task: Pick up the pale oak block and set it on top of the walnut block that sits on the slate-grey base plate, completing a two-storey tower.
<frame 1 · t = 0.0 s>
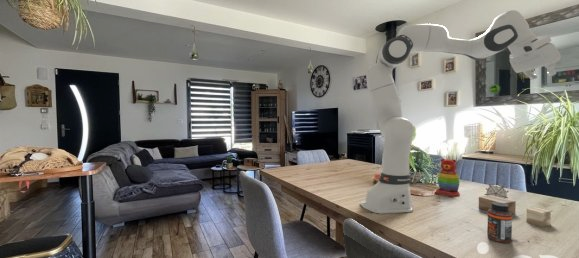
hand: (543, 77, 104), 54 cm above the table, tool tilted 30°, fingers open, 8 cm apart
supplement bottle: (499, 240, 82), on the table
stacking bear: (448, 194, 132), on the table
oak block: (538, 226, 91), on the table
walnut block: (496, 211, 103), point 1 cm above the table, touching base plate
base plate: (496, 214, 103), on the table
game die: (496, 202, 119), on the table
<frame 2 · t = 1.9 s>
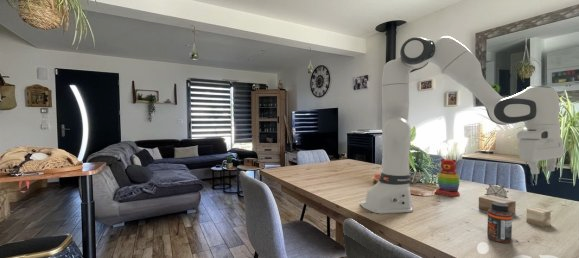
hand: (542, 172, 91), 19 cm above the table, tool pointing down, fingers open, 8 cm apart
nothing on the table moved.
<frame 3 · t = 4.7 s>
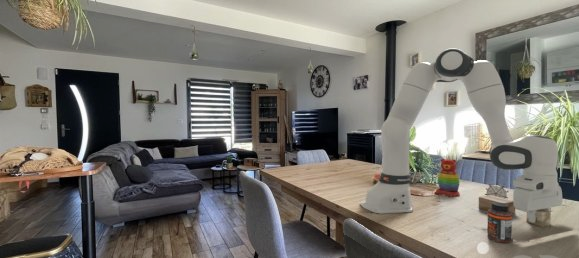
hand: (538, 220, 91), 2 cm above the table, tool pointing down, fingers closed on oak block, 4 cm apart
oak block: (538, 226, 91), on the table, touching gripper
everything else where it was.
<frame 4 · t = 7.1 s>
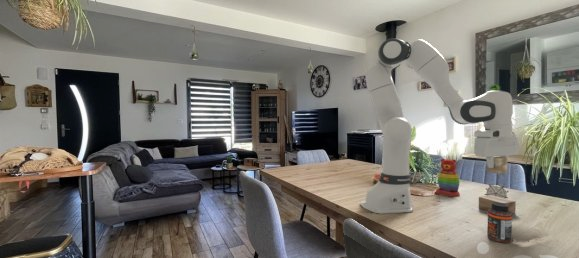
hand: (496, 167, 102), 19 cm above the table, tool pointing down, fingers closed on oak block, 4 cm apart
oak block: (496, 172, 102), point 17 cm above the table, touching gripper
everything else where it was.
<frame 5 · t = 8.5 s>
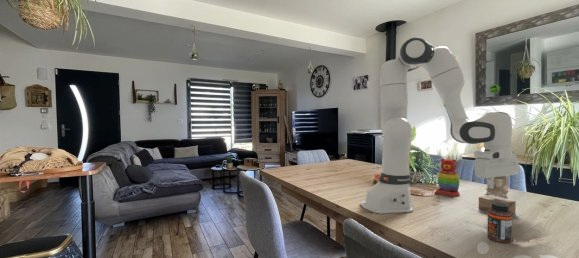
hand: (497, 187, 103), 11 cm above the table, tool pointing down, fingers closed on oak block, 4 cm apart
oak block: (497, 192, 103), point 9 cm above the table, touching gripper
everything else where it was.
when the fingers open (9 cm above the table, at t = 9.6 s): oak block drops 1 cm, resting on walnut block.
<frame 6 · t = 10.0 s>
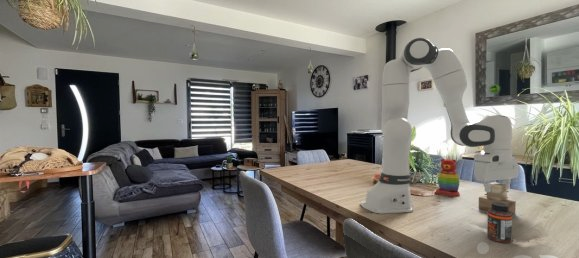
hand: (496, 190, 103), 9 cm above the table, tool pointing down, fingers open, 8 cm apart
oak block: (496, 198, 103), point 6 cm above the table, touching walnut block
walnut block: (496, 211, 103), point 1 cm above the table, touching base plate, oak block
everything else where it was.
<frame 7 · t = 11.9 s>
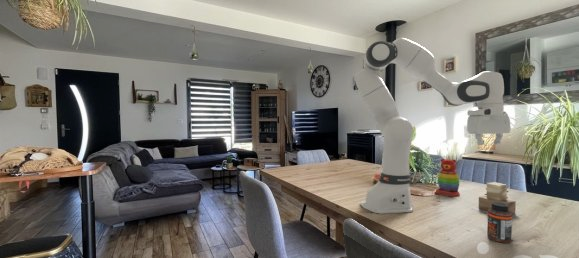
hand: (489, 144, 108), 27 cm above the table, tool pointing down, fingers open, 8 cm apart
nothing on the table moved.
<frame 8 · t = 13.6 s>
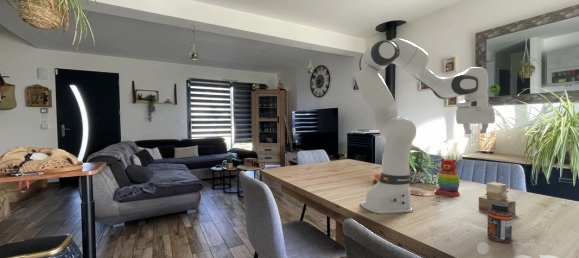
hand: (475, 133, 119), 31 cm above the table, tool pointing down, fingers open, 8 cm apart
nothing on the table moved.
at the end: oak block inside the target area on the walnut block (0.0 cm from its centre), point 5.0 cm above the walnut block's base; oak block tilted 0°; the gripper is holding nothing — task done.
